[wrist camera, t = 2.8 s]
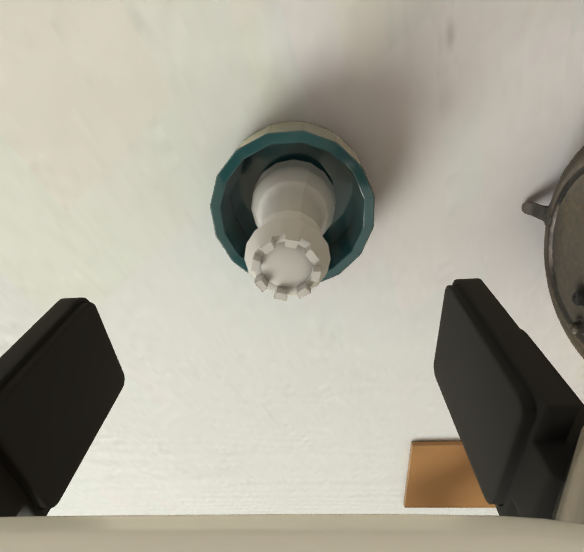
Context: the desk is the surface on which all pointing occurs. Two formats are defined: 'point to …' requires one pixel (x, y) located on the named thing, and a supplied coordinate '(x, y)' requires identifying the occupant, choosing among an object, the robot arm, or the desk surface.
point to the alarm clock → (566, 248)
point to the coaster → (442, 477)
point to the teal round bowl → (304, 147)
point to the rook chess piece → (290, 228)
